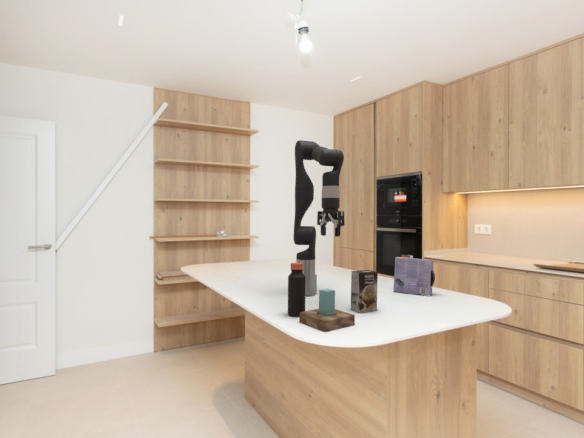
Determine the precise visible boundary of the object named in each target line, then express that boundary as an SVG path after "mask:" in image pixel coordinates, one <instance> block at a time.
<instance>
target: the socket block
mask: <svg viewBox="0 0 584 438" xmlns="http://www.w3.org/2000/svg"><path fill="white" fill-rule="evenodd" d="M355 316H356V315H355V314H353V313H349V312H346V311H344V310H339V309H336V308H335V315H331V316H327V317H326V316H323V315H320V314H319V308H315V309H310V310H305V311H304V312H299V317H298V318H299V323H301V324H304V325H305V326H306V325H307V326H309V327H312V328H314V329H317V330H320V331H322V332H324V333H326V332H330V331H334V330H339V329H342V328H347V327H351V326H354V325H355V323H356V322H355V320H356V319H355V318H356V317H355Z"/></svg>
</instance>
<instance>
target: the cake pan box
mask: <svg viewBox="0 0 584 438" xmlns="http://www.w3.org/2000/svg"><path fill="white" fill-rule="evenodd" d="M394 257H395V256H394ZM394 259H395V260H394V274H393V292H396V293H401V292H403V293H404V294H408V293H412V294H411V295H417V294H422V295H421V296H424V295H431V294H432V295H433V286H434V284H435V280H436V274H435V271H434V259H426V258H425V259H424V258H423V259H422V258H416V257H415V258H412V257H402V256H401V257H400V256H396V257H395V258H394ZM432 295H431V296H432Z"/></svg>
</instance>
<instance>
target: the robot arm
mask: <svg viewBox="0 0 584 438" xmlns="http://www.w3.org/2000/svg"><path fill="white" fill-rule="evenodd" d="M344 159H345V155H344V153H343V151H342V150H341V149H331V148H328V147H325V146H320V145H319V144H318V143H317V142H314V141H309V140H300V139H299V140H297V141H296V142H295V145H294V164H295V183H294V185H295V186H294V224H293V243H294V245H297V246H308V248H306V249H305V250H302V251H299V252H297V253H296V260H295V261H296V262H295V263H303V271H302V273H303V274H304V275H305V297H311V296H315V295H317V293H318V290H317V289H318V287H317V285H318V284H317V282H318V281H317V278H318V276H317V274H316V244H317V243H316V241H317V229H316V227H315V226H314V225H313V226H310V225H308V226H307V225H302V221H303V218H304V216H305V214H306V213H307V211H308V209H309V208H310V207H311V206H312V203H313V201H314V199H315V198H314V193H315V192H314V191H315V187H314V183H313V181H312V179H311V178H310V176H309V174H308V172H307V171H306V168H305V163H304V161H305V160H306V161H315V162H317V163H319V165H320V166H323V167H333V168H332V170H331V171H330V170H329V171H326V172H323V173H322V177H321V178H322V183H321V184H322V185H321V186H322V187H321V209H322V210H318V211H317V216H316V217H317V218H316V219H317V220H316V225H317V226H319V227H320V235H321V236H322V237H323V236H325V237H326V236H327V227H326V226H327V224H328V223H329V222H331V223H332V224H333V225H334V237H338V238H339V237H340V236H341V227H344V226H345V212H344V210H339V209H340V207H341V205H340V204H341V203H340V201H341V200H340V196H341V194H340V192H341V191H340V175H341V170H342V166H343V165H344V164H343V163H344V161H345V160H344Z"/></svg>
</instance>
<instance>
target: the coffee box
mask: <svg viewBox="0 0 584 438" xmlns="http://www.w3.org/2000/svg"><path fill="white" fill-rule="evenodd" d="M378 276H379V275H378V271H375V270H370V269H364V270H363V269H362V270H352V271H351V275H350V277H351V281H350V283H351V284H350V285H351V286H350V310H351V311H354V312H357V313H358V312H359V314H361V313H362V312H363V313H369V311H370V312H374V311H375V312H376V310H377V311H378ZM363 313H362V314H363Z"/></svg>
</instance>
